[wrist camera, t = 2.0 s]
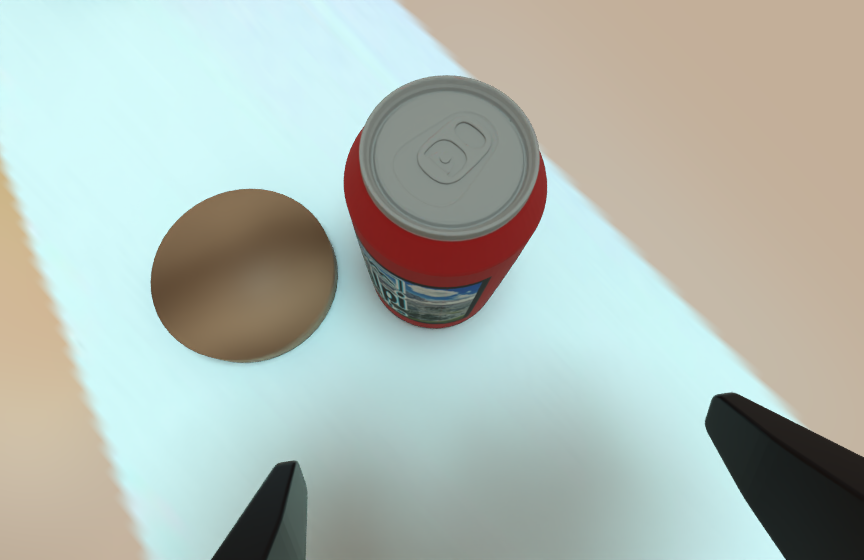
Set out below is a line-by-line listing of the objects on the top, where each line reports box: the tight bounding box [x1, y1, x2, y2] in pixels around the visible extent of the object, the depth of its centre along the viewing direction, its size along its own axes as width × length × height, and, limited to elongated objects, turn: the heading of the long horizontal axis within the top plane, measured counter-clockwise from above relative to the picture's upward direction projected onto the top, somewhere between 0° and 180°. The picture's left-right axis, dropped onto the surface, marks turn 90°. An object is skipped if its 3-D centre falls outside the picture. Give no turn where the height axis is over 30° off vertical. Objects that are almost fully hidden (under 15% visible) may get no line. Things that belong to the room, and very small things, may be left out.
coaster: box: [151, 189, 338, 363], centre depth 24 cm, size 9×9×2 cm
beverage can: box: [344, 75, 547, 328], centre depth 19 cm, size 7×7×12 cm
